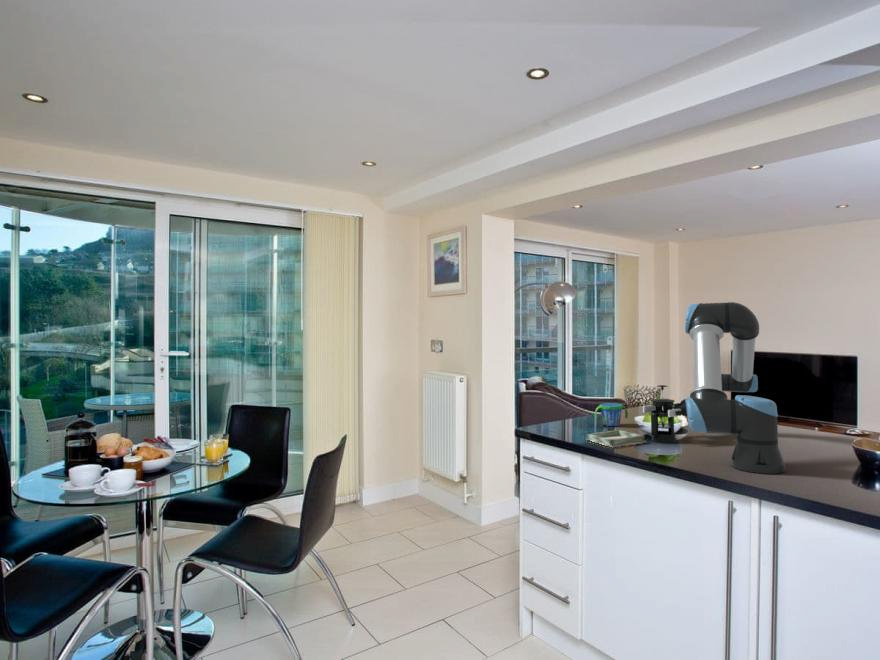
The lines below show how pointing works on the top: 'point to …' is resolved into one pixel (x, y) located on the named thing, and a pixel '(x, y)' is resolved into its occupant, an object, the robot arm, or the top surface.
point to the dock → (616, 438)
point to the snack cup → (611, 413)
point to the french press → (663, 435)
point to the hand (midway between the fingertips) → (655, 411)
